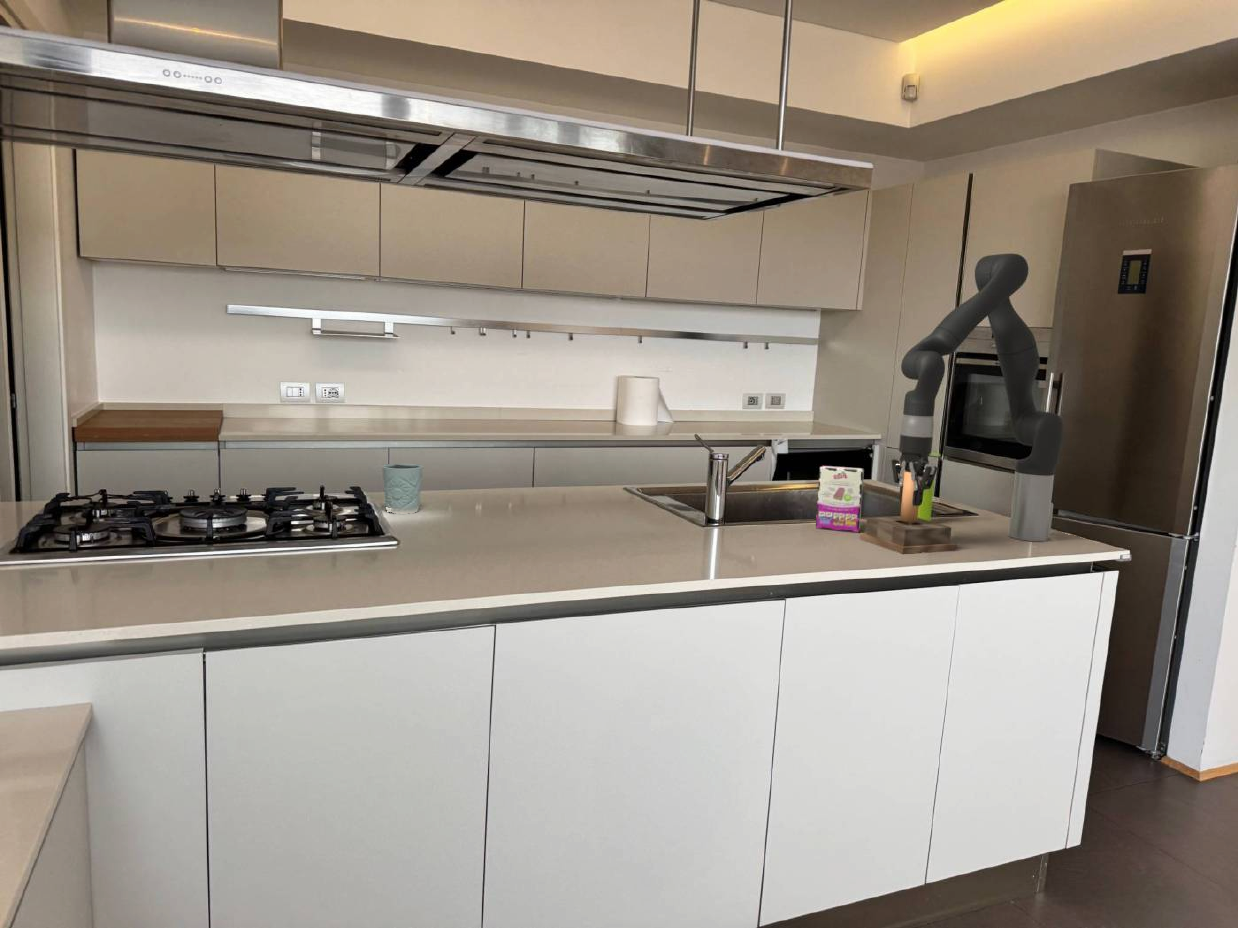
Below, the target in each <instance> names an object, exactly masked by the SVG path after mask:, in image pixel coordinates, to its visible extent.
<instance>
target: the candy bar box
mask: <svg viewBox="0 0 1238 928" xmlns="http://www.w3.org/2000/svg"><path fill="white" fill-rule="evenodd" d="M864 472H865V469H864V468H860V467H848V466H847V467H846V466H832V465H821V466H819V473H818V489H817V490H818V491H817V503H816V505H817V506H816V520H815V529H816V530H817V529H818V530H828V531H829V530H830V531H837V532H838V531H839V532H840V531H841V532H850V533H859V531H860V530H861V519H862V518H861V517H862V516H861V515H862V507H863V506H862V505H863V488H864V478H865V477H864V475H865V473H864Z"/></svg>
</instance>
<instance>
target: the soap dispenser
mask: <svg viewBox="0 0 1238 928" xmlns="http://www.w3.org/2000/svg"><path fill="white" fill-rule="evenodd" d="M929 456H937V457H940V456H941V453H937V452H934V451H931V454H930V455H929ZM926 484H927V482H926ZM934 485H935V479H934V480H933V483H932V485H931V488H930V489H926V490H924V492H923V501H922V504H921V505H920V506H919V508H918V518H920V519H924V520H927V521H931V519H932V518H931V517H932V506H933V495H934V494H933V493H934Z"/></svg>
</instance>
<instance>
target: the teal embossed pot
mask: <svg viewBox="0 0 1238 928" xmlns="http://www.w3.org/2000/svg"><path fill="white" fill-rule="evenodd" d="M422 473H423V466H422V465H421V464H414V463H389V464H384V465H382V478H383V486H384V507H385V506H386V507H388V508H393V509H402V510H403V509H404V510H407V509H414V508H417V507H419V508H420V506H421V505H420V502H421V501H420V500H421V499H420V497H421V496H420V494H421V483H422V476H423V474H422Z"/></svg>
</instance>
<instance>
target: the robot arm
mask: <svg viewBox="0 0 1238 928" xmlns="http://www.w3.org/2000/svg"><path fill="white" fill-rule="evenodd" d="M1028 275H1029V265H1028V262H1027V259H1025V257H1024V256H1022V255H1020V254H1019V253H1011V252H1010V253H1000V254H998V253H997V254H990V255H985V256H982V257H981V258H980V259H979V260H978V261H977V263H976V265H975V268H974V281H975V284H976V288H977V290H978V292H976V293H975V294H974V295H973V296H971V297H970V298H969V299H967V300H966V301H964V302H962V303H961V304H960V305H958V306H957V307H955V308H954V309H953V310H952V311H950V312H949V313H948V314H947V315H946V316H945V317H944V318H943V319H942V320H941V322H939V324H937V326H936V327H935V328H934V329H933V331H932V332H931V333H930V334H929V335H928V336H926V337H924V338H923V339H922V340H920V341H919V342H917V344H915V345H914V346H913V347H911V348H910V349H909V350H908V351H907V352H906V353H905V355H904V356H903V358H902V360H901V364H900V369H901V373H902V374H903V376H904V377H905V378H907V379H909V380H913V381H917V383H916V385H915V388H914V389H911V390H909V391H907V392H906V393H905V396H904V400H903V401H904V402H903V413H902V419H901V423H900V432H899V433H900V435H899V443H898V444H899V445H898V446H899V447H898V452H899V453H900V454H901V455H900V458H894V459H892V460H891V467H892V468H891V469H892V477H893V482H894V483H895V484H897V485H898V487H899V495H898V496H899V497H898V498H899V502H900V503H902V493H903V482H904V472H910V473H911V479H912V481H913V483H914V491H913V502H912V504H913V505H914V506H920V505H921V504H922V501H923V492H924V490H926V489H930V488H931V485H932V483H933V480H934V481H935V477H936V474H937V472H938V467H937V466H936V465H933V466H932V465H931V464H930V461H929V456H931V455H930V454H931V452H933V451H932V450H933V440H934V438H933V437H934V428H935V427H934V426H935V423H934V421H935V420H934V416H935V408H936V407H935V404H936V398H937V395H938V394H939V391H940V388H941V385H942V382H943V379H944V376H945V372H946V363H945V360H944V356H949V355H951V354H953V353H955V351H957V349H958V348H959V347H960V346H961V345H962V343H963V342H964V341H965V340H966V339H967V338H968V336H969V335H970V334H971V333H972V332H973V331H974V330H975V329H976V328H977V327H978V325H979V324H980V323H981V322H983V320H985V319H986V318H987V320H988V322H989V323H988V324H989V327H990V330H991V333H992V337H993V340H994V345H995V348H996V349H995V350H996V355H997V358H998V359H997V360H998V363H999V367H1000V368H1001V369H1000V370H1001V373H1002V376H1003V381H1004V386H1005V391H1006V396H1007V402H1008V407H1009V417H1010V423H1011V424H1010V425H1011V429H1012V433H1013V436H1014V438H1015V440H1016V441H1017V442H1018V443H1020V444H1022V445H1023V446H1029V447H1032V448H1031V453H1030V455H1029V456H1026V457H1025V458H1021V459H1018V460H1017V461H1016V464H1015V470H1014V481H1013V488H1012V489H1013V491H1012V500H1011V506H1010V507H1011V508H1010V516H1009V525H1008V536H1009V537H1010V538H1012V539H1017V540H1020V541H1021V540H1023V541H1027V542H1029V541H1030V542H1046V541H1047V540H1050V539H1051V530H1052V523H1053V522H1052V521H1053V515H1054V514H1053V513H1054V511H1053V510H1054V504H1053V502H1052V498H1053V489H1054V480H1055V472H1056V468H1057V466H1058V464H1059V461H1060V456H1061V451H1062V446H1063V441H1064V430H1065V428H1064V422H1063V419H1062V418H1061V416H1060V415H1059V414H1057V413H1055V412H1051V411H1042V410H1040V411H1039V410H1037V409H1036V405H1035V402H1034V401H1035V400H1034V398H1033V387H1034V383H1035V381H1036V378H1037V374H1038V373H1039V368H1040V362H1041V361H1040V354H1039V350H1038V345H1037V342H1036V338H1035V336H1034V334H1033V332H1032V330H1031V328H1030V327H1029V326H1028V324H1027V323H1026V322H1025V321H1024V320H1023V318H1021V316H1020V315H1019V314H1018V312H1017V311H1016V310H1015V308H1014V306H1013V305H1012V302H1011V299H1010V297H1011V296H1012V295H1014V294H1015V293H1016V292H1017V291H1018V290H1019V289H1021V288H1022V287H1023V285H1024V284H1025V283H1026V280H1027V279H1028ZM917 476H921V477H917ZM918 481H920V485H919V483H918ZM926 482H927V484H926Z"/></svg>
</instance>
